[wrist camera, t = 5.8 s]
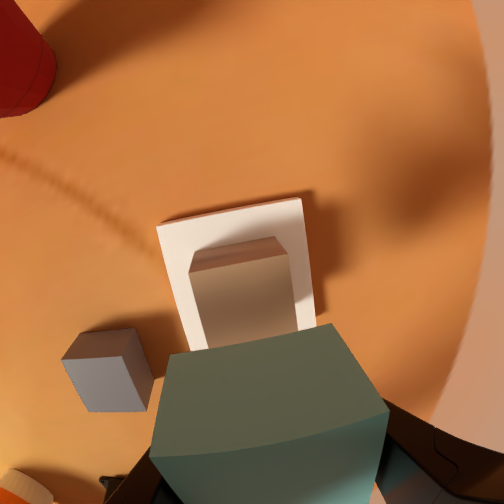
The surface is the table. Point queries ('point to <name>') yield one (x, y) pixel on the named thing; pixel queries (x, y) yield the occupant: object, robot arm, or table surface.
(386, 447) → the robot arm
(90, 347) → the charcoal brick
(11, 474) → the reusable coffee cup
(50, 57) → the plastic cup
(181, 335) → the table surface
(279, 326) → the walnut brick
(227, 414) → the teal brick
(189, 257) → the base plate
